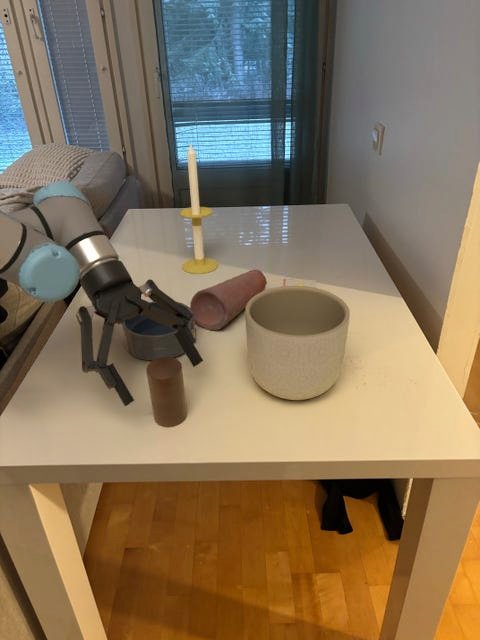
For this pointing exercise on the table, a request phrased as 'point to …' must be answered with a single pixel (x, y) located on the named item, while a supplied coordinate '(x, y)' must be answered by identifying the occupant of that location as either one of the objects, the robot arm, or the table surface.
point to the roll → (167, 391)
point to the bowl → (153, 337)
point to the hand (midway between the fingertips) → (166, 382)
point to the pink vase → (226, 299)
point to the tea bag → (299, 282)
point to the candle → (196, 222)
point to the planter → (296, 340)
